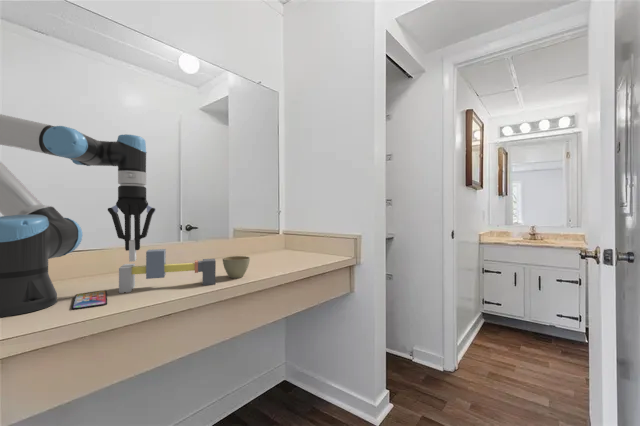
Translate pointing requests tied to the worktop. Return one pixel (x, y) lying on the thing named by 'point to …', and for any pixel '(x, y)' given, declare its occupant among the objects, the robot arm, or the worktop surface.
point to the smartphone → (89, 300)
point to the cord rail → (130, 270)
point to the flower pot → (236, 265)
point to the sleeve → (155, 263)
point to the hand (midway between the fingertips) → (132, 260)
